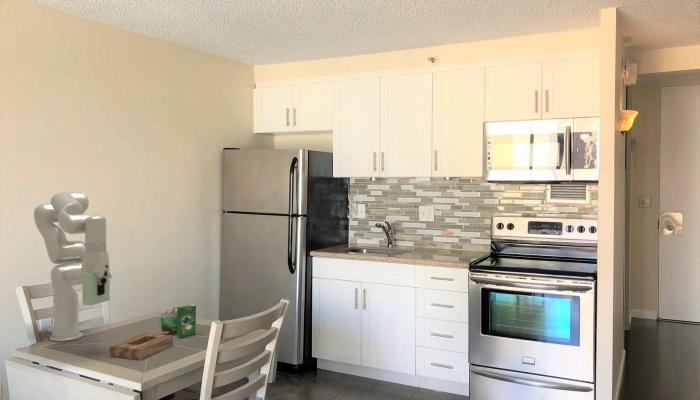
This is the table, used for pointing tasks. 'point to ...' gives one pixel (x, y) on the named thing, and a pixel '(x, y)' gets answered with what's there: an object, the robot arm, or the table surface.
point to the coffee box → (186, 320)
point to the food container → (169, 322)
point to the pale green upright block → (93, 290)
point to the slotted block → (141, 346)
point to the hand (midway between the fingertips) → (96, 293)
